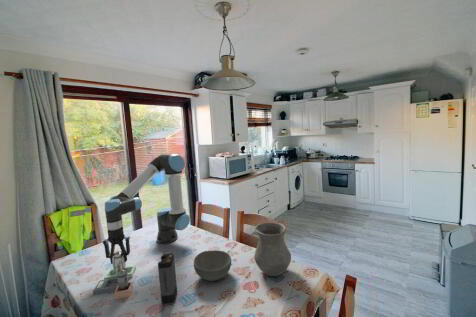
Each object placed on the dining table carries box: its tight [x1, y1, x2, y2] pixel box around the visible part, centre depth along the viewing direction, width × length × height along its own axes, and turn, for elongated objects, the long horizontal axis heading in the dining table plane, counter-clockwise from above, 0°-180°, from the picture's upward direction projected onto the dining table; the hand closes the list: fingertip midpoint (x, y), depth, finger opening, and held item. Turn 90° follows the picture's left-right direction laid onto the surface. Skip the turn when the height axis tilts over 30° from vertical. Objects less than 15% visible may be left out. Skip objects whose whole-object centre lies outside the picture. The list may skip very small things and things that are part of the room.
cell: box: [113, 250, 123, 275], centre depth 125 cm, size 4×4×13 cm
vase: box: [254, 221, 292, 277], centre depth 120 cm, size 20×19×25 cm
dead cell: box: [117, 268, 129, 291], centre depth 110 cm, size 4×4×13 cm
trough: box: [103, 265, 137, 280], centre depth 125 cm, size 14×8×3 cm, turn 101°
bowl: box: [193, 249, 232, 282], centre depth 121 cm, size 20×20×10 cm
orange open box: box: [114, 281, 134, 300], centre depth 110 cm, size 6×6×4 cm
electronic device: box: [157, 252, 178, 306], centre depth 105 cm, size 9×6×20 cm, turn 5°
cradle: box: [92, 278, 118, 295], centre depth 116 cm, size 12×8×3 cm
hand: (119, 267), depth 125 cm, fingers closed on cell, 4 cm apart
